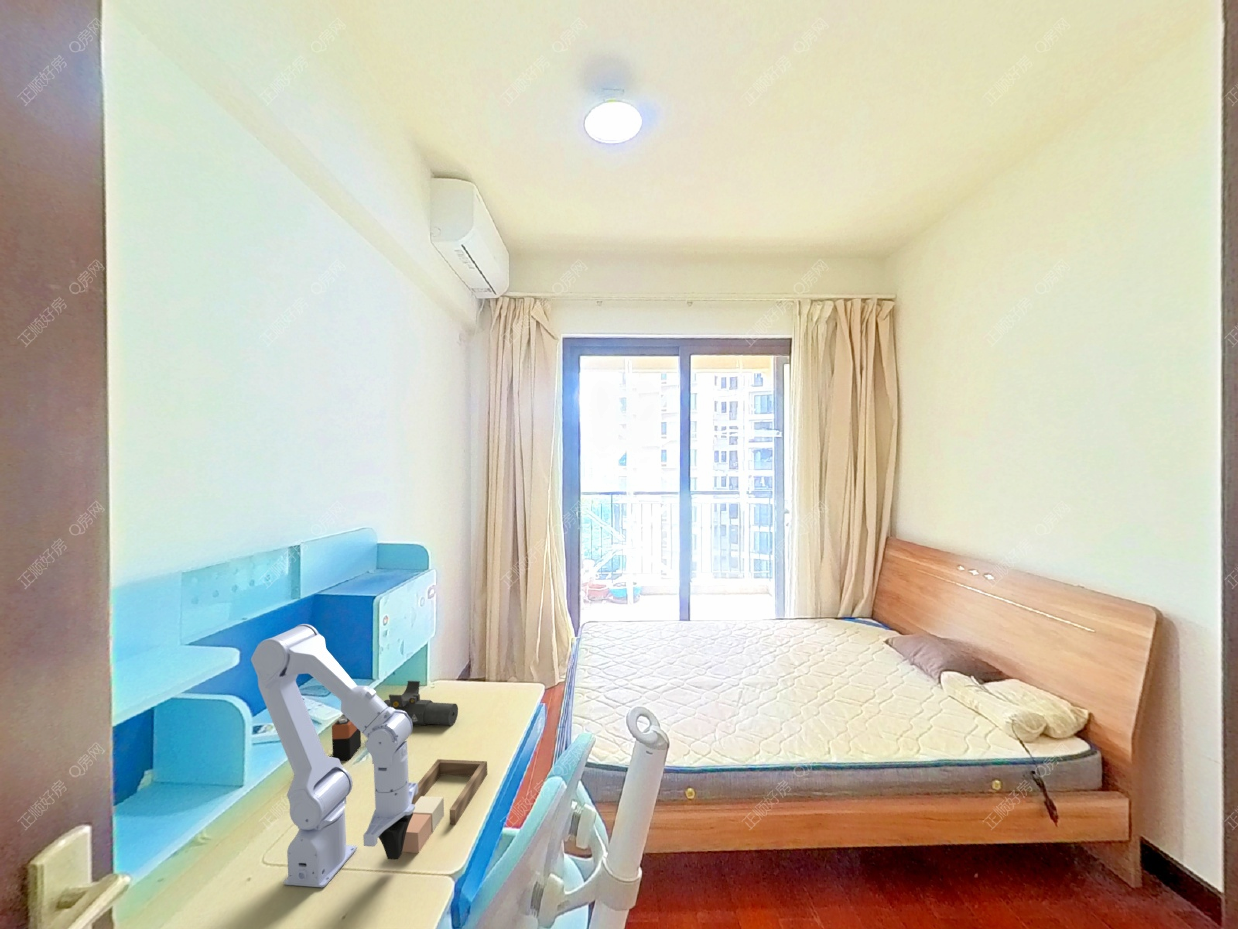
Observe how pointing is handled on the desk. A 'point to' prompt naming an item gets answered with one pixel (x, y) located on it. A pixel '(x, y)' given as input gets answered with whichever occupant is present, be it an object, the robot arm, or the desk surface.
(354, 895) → the desk surface
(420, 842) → the pink cube-like block
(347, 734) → the battery
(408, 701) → the laser sight
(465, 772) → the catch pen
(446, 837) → the desk surface
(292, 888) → the desk surface
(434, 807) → the tile far
